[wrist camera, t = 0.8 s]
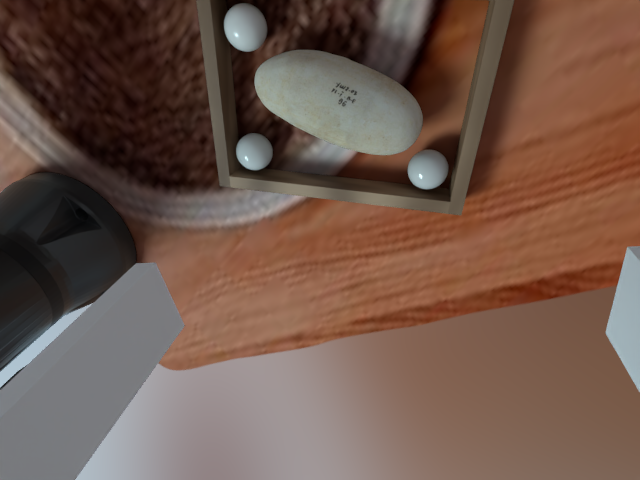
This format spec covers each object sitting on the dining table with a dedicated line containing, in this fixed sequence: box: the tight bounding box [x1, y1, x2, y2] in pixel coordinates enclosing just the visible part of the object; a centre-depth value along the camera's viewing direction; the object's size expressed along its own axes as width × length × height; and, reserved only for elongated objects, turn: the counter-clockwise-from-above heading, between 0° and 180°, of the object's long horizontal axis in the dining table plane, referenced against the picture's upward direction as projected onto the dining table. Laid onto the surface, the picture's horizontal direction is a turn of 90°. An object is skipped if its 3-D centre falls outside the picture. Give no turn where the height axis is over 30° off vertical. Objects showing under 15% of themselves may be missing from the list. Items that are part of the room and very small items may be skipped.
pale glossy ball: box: [236, 133, 273, 170], centre depth 32 cm, size 3×3×3 cm
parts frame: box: [196, 0, 514, 215], centre depth 28 cm, size 20×15×2 cm
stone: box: [255, 50, 423, 155], centre depth 27 cm, size 6×6×12 cm
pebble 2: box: [408, 149, 448, 189], centre depth 29 cm, size 3×3×3 cm
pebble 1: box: [224, 3, 267, 52], centre depth 27 cm, size 3×3×3 cm
